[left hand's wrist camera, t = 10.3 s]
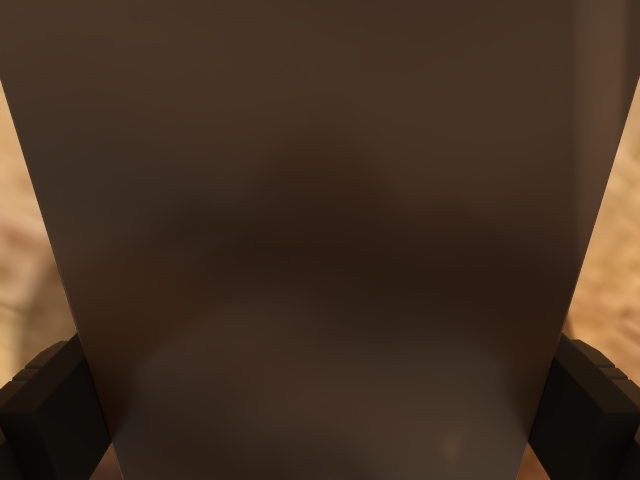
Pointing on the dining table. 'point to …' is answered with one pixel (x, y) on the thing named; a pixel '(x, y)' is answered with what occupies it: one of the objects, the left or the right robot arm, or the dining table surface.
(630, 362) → the dining table surface
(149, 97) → the wooden chest box
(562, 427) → the left robot arm
